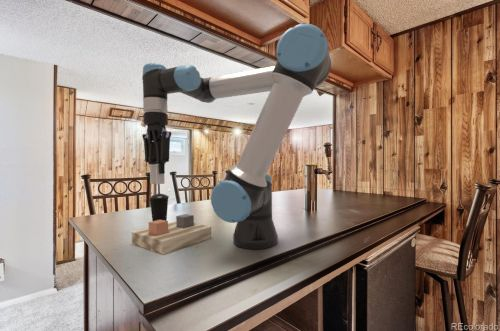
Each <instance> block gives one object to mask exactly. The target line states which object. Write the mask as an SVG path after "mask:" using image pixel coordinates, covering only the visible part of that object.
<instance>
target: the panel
mask: <svg viewBox="0 0 500 331" xmlns="http://www.w3.org/2000/svg"><path fill="white" fill-rule="evenodd" d="M212 237H213V236H212V226H209V225H204V224H200V223H195V222H194V226H192V227H188V228H179V227H177V225H176V221H173V222H168V233H166V234H162V235H159V236H153V235H150V234H149V227H147V228H144V229H139V230H135V231H131V244H132V245H134V246H137V247H140V248H142V249H146V250H148V251H150V252H151V251H152V252H154V253H158V254H160V255H163V256H164V255H165V254H169V253H172V252H174V251H177V250H180V249H183V248H186V247H189V246H191V245H195V244H197V243H201V242H203V241H206V240H209V239H212Z"/></svg>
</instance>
